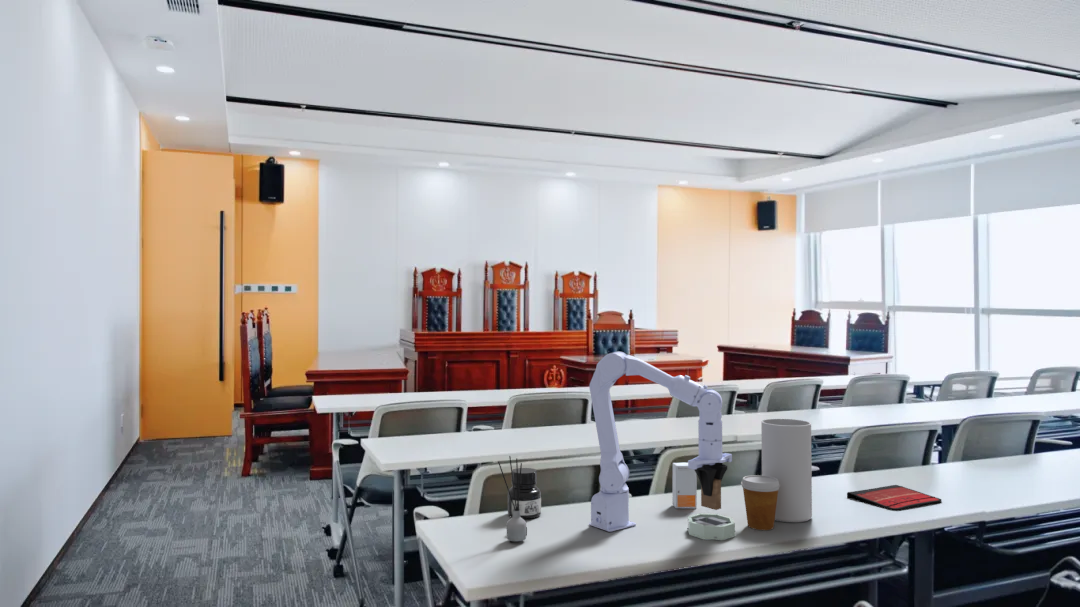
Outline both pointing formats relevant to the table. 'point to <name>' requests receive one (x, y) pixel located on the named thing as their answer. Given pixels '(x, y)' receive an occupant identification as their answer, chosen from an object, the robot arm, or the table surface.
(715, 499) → the wooden block
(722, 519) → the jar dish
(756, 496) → the disposable coffee cup
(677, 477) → the skincare box
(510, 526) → the reed diffuser
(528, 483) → the ink bottle
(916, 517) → the table surface
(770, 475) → the cylinder vase
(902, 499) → the binder
